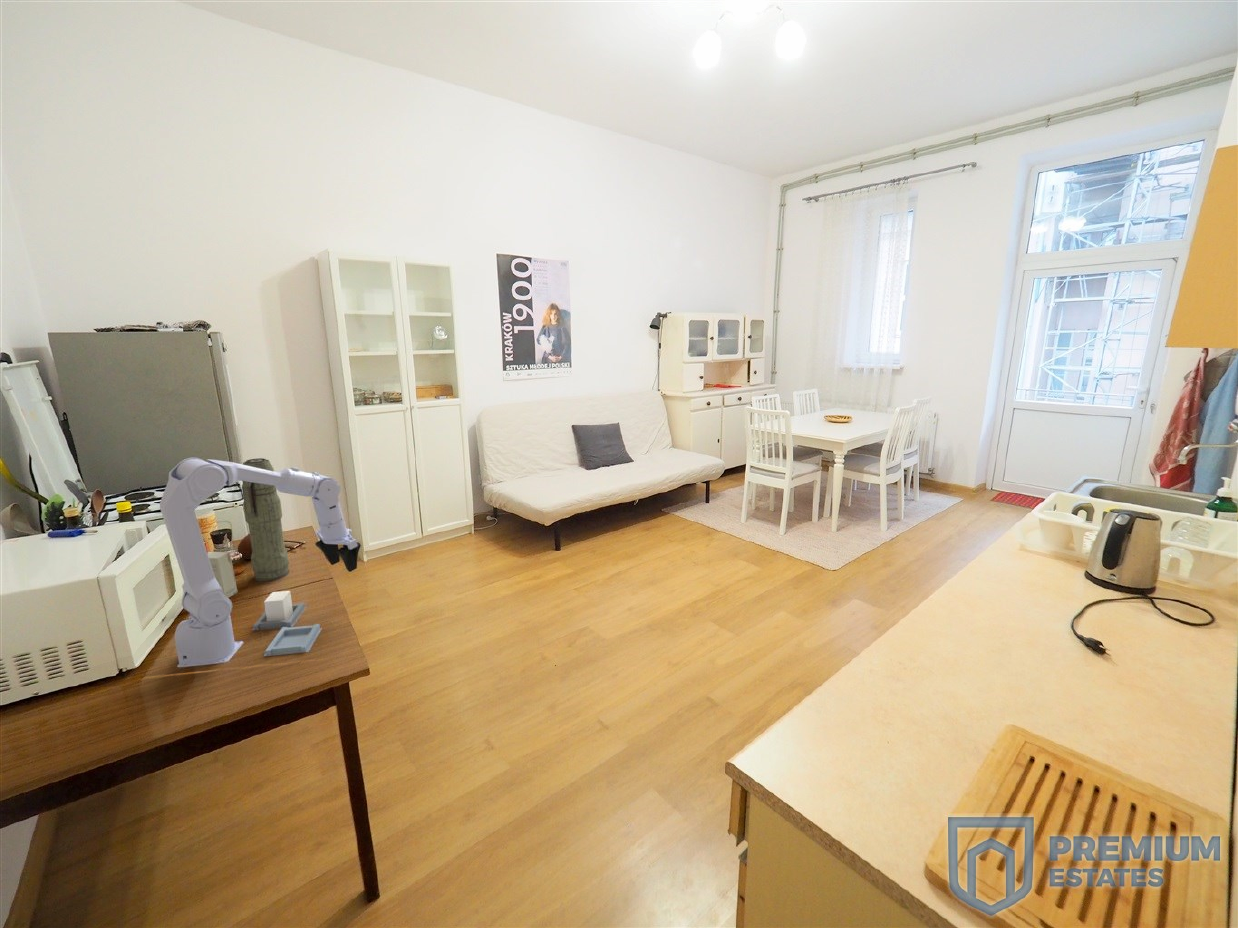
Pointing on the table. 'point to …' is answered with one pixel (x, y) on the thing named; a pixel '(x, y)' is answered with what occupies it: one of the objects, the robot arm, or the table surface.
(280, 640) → the front socket
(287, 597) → the white rectangular block
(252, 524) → the olive tall rounded block
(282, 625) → the rear socket
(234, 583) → the skincare box
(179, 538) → the robot arm
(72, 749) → the table surface
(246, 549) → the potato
